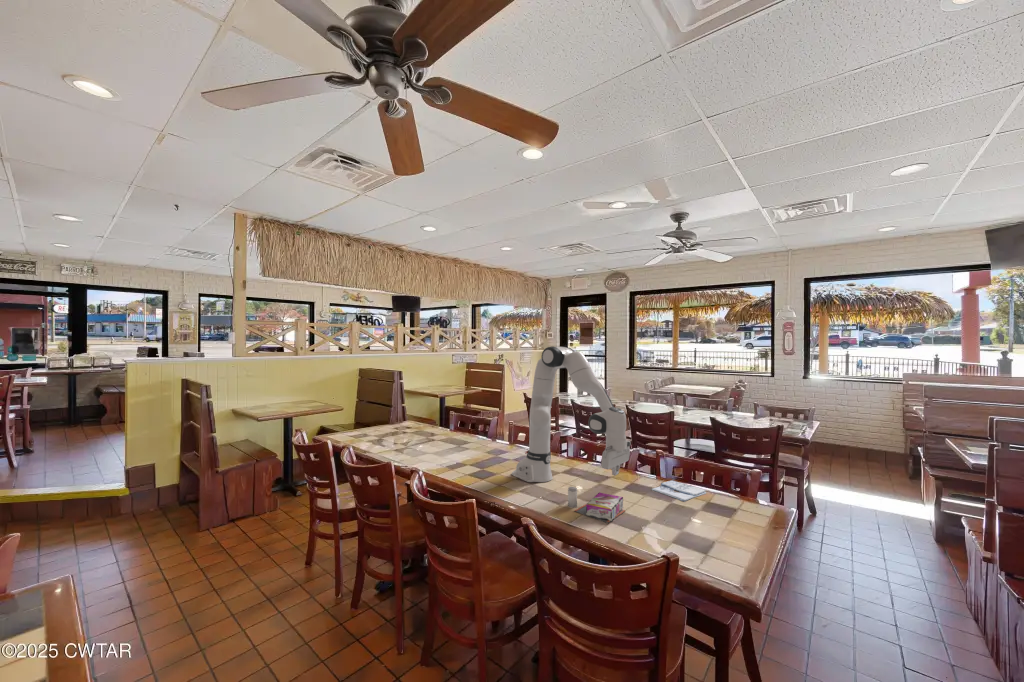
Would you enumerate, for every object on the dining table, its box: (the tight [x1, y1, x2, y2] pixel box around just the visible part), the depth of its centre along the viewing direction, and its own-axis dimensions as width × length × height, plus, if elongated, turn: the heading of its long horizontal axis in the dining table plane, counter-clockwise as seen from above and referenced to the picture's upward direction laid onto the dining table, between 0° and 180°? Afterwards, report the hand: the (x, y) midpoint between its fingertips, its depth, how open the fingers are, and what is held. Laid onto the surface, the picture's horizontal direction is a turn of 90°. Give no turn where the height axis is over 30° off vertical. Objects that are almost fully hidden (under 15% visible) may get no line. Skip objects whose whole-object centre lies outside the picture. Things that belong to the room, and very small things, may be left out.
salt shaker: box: [567, 486, 578, 509], centre depth 179 cm, size 4×4×8 cm
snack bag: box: [650, 480, 708, 503], centre depth 198 cm, size 19×20×2 cm
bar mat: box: [574, 503, 626, 524], centre depth 173 cm, size 16×15×1 cm
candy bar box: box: [585, 492, 624, 522], centre depth 172 cm, size 11×5×16 cm
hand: (615, 474), depth 183 cm, fingers closed
